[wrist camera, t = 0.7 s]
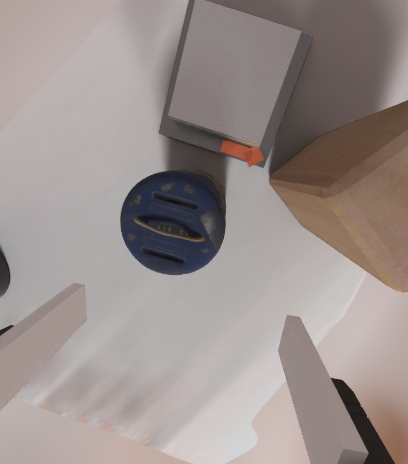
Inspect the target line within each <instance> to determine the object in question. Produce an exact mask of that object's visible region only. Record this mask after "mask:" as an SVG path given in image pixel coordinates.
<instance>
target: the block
mask: <svg viewBox="0 0 408 464" xmlns="http://www.w3.org/2000/svg"><path fill="white" fill-rule="evenodd" d="M269 182H270V185H271V186H272V187H273V189H274V190H275V191H276V193H277V194H278V195H279V197H280V198H281V199H282V201H283V202H284V203H285V204H286V206H287V207H288V208H289V210H290V211H291V212H292V214H293V215H294V216H295V218H296V219H297V220H298V222H299V223H300V224H301V225H302V226H303V227H304V228H306V229H307V230H309V231H310V232H311V233H313V234H314V235H316V236H317V237H319V238H320V239H321V240H323V241H324V242H326V243H327V244H329V245H330V246H331V247H333V248H334V249H336V250H337V251H338V252H340V253H341V254H343V255H344V256H346V257H347V258H348V259H350V260H351V261H353V262H354V263H356V264H357V265H358V266H360V267H361V268H363V269H364V270H365V271H367V272H368V273H370V274H371V275H373V276H374V277H375V278H377V279H378V280H380V281H381V282H383V283H384V284H385V285H387V286H389V287H391V288H392V289H394V290H396V291H400V292H408V100H407V101H405V102H402V103H400V104H397V105H395V106H392V107H390V108H387V109H385V110H382V111H380V112H377V113H375V114H372V115H370V116H367V117H365V118H362V119H360V120H357V121H355V122H352V123H350V124H347V125H345V126H342V127H340V128H337V129H335V130H332V131H330V132H327V133H324V134H322V135H320V136H319V137H318V138H317V139H315V140H314V141H313V142H312V143H310V144H309V145H308V146H307V147H305V148H304V149H303V150H301V151H300V152H299V153H298V154H296V155H295V156H294V157H293V158H291V159H290V160H289V161H288V162H286V163H285V164H284V165H283V166H281V167H280V168H279V169H278V170H276V171H275V172H274V173H273V174H272V175H271V176H270V178H269Z"/></svg>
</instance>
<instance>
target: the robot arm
mask: <svg viewBox="0 0 408 464" xmlns="http://www.w3.org/2000/svg"><path fill="white" fill-rule="evenodd" d="M8 286H9V270H8V267H7V264H6V262H5V260H4V258H3V256H2V255H1V253H0V297H1V296H3V295H4V294H5V292H6V291H7V289H8ZM86 320H87V317H86V300H85V285H83V284H76V283H73V284H72V285H70V286H69V287H68V288H66V289H65V290H63V291H62V292H61V293H59V294H58V295H56V296H55V297H54V298H52V299H51V300H50V301H48V302H47V303H45V304H44V305H43V306H41V307H40V308H38V309H37V310H36V311H34V312H33V313H32V314H30V315H29V316H27V317H26V318H25V319H23V320H22V321H20V322H19V323H18V324H16V325H15V326H13V325H10V326H8V327H6V328H4V329H2V330H0V411H1V410H2V409H3V408H4V407H5V406H6V405H7V403H8V402H9V401H10V400H11V399H12V398H13V397H14V396H15V395H16V394H17V393H18V392H19V391H20V390H21V389H22V388H23V387H24V386H25V384H26V383H27V382H28V381H29V380H30V379H31V378H32V377H33V376H34V375H35V374H36V373H37V372H38V371H39V370H40V369H41V368H42V367H43V365H44V364H45V363H46V362H47V361H48V360H49V359H50V358H51V357H52V356H53V355H54V354H55V353H56V352H57V351H58V350H59V349H60V348H61V347H62V345H63V344H64V343H65V342H66V341H67V340H68V339H69V338H70V337H71V336H72V335H73V334H74V333H75V332H76V331H77V330H78V329H79V328H80V326H81V325H82V324H83V323H84V322H85V321H86ZM278 352H279V356H280V359H281V363H282V366H283V370H284V373H285V376H286V380H287V383H288V387H289V390H290V394H291V397H292V401H293V404H294V407H295V411H296V414H297V418H298V421H299V425H300V428H301V432H302V435H303V439H304V442H305V445H306V449H307V452H308V456H309V459H310V463H311V464H395V463H394V461H393V460H392V458H391V456H390V454H389V453H388V451H387V449H386V448H385V446H384V444H383V442H382V441H381V439H380V437H379V435H378V434H377V432H376V430H375V429H374V427H373V425H372V423H371V422H370V420H369V418H367V415H366V413H365V411H364V410H363V408H362V407H361V405H360V403H359V401H358V399H357V397H356V396H355V394H354V392H353V391H352V390H351V389H350V388H349V387H348V385H347V384H346V383H345V382H344V381H343V380H340V379H334V378H330V376H329V374H328V372H327V370H326V368H325V366H324V364H323V362H322V360H321V358H320V356H319V354H318V352H317V350H316V348H315V346H314V344H313V342H312V340H311V338H310V336H309V335H308V333H307V331H306V329H305V327H304V325H303V323H302V321H301V319H300V317H297V316H290V315H287V317H286V321H285V325H284V329H283V333H282V337H281V341H280V345H279V349H278Z"/></svg>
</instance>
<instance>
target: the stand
mask: <svg viewBox="0 0 408 464" xmlns="http://www.w3.org/2000/svg"><path fill="white" fill-rule="evenodd" d="M301 32H302V31H300V30H297V29H294V28H291V27H288V26H285V25H281V24H278V23H275V22H272V21H269V20H266V19H263V18H260V17H256V16H253V15H250V14H247V13H244V12H241V11H238V10H235V9H231V8H228V7H225V6H222V5H219V4H216V3H213V2H209V1H206V0H189V3H188V7H187V12H186V16H185V20H184V25H183V29H182V33H181V38H180V42H179V46H178V51H177V55H176V60H175V64H174V68H173V73H172V77H171V81H170V86H169V90H168V95H167V99H166V103H165V108H164V112H163V116H162V121H161V125H160V130H159V134H162V135H165V136H168V137H171V138H174V139H177V140H180V141H183V142H186V143H189V144H192V145H195V146H198V147H201V148H204V149H207V150H210V151H213V152H216V153H220V154H223V155H226V156H229V157H232V158H235V159H238V160H241V161H244V162H247V163H248V165H249V167H250V166H252V165H256V166H259V167H262V168H264V166H265V163H266V160H267V158H268V155H269V153H270V150H271V147H272V145H273V142H274V139H275V137H276V134H277V131H278V129H279V126H280V124H281V121H282V118H283V116H284V113H285V110H286V108H287V105H288V103H289V100H290V97H291V95H292V92H293V89H294V87H295V84H296V82H297V79H298V76H299V74H300V71H301V68H302V66H303V63H304V60H305V58H306V55H307V53H308V50H309V47H310V45H311V42H312V39H313V37H310V36H307V35H304V34H301Z"/></svg>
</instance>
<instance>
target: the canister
mask: <svg viewBox="0 0 408 464" xmlns="http://www.w3.org/2000/svg"><path fill="white" fill-rule="evenodd" d="M225 215H226V202H225V196H224V192H223V190H222V188H221V186H220V185H219V183H218V182H217V181H216V180H215V179H214V178H213V177H212V176H210V175H208V174H206V173H203V172H200V171H194V170H185V171H166V172H160V173H156V174H153V175H150V176H148V177H146V178H145V179H143V180H141V181H140V182H139V183H137V184H136V185H135V186H134V187H133V188H132V190H131V191H130V192H129V194H128V195H127V197H126V199H125V201H124V203H123V206H122V211H121V219H120V222H121V232H122V236H123V239H124V242H125V244H126V246H127V248H128V249H129V251H130V252H131V254H132V255H133V256H134V257H135V258H136V259H137V260H138V261H139V262H140V263H141V264H142V265H144V266H145V267H146V268H148V269H151V270H153V271H156V272H159V273H162V274H168V275H182V274H188V273H192V272H194V271H196V270H198V269H201V268H202V267H204V266H205V265H207V264H208V263H209V262H210V261H211V260H212V259H213V258H214V256H215V255H216V254H217V252H218V251H219V249H220V247H221V245H222V242H223V239H224V235H225V227H226V220H225Z"/></svg>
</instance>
